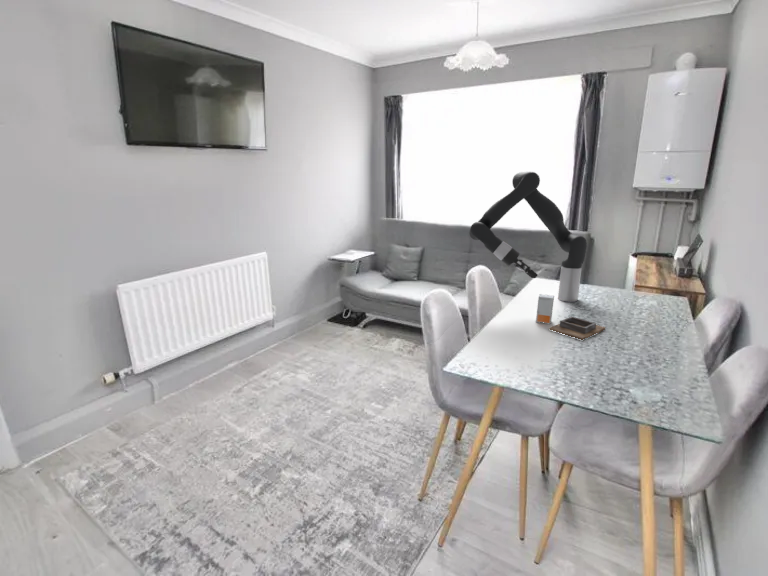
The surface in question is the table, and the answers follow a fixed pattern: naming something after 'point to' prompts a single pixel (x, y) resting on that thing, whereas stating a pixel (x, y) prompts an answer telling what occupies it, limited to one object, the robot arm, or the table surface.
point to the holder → (577, 328)
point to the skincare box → (544, 308)
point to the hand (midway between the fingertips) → (535, 276)
